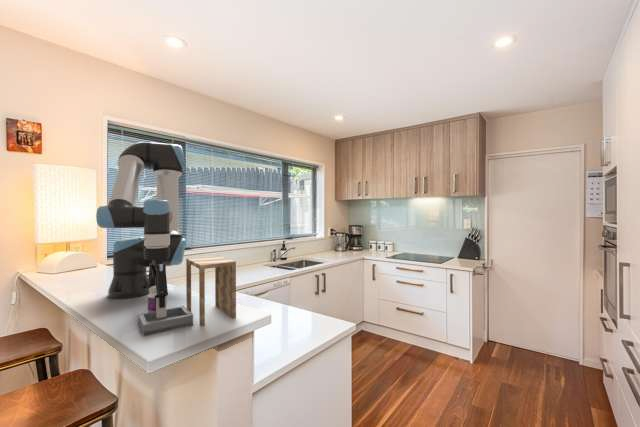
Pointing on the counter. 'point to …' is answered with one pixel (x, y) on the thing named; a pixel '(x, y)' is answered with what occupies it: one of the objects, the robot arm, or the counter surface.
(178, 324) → the tray
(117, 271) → the robot arm
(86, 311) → the counter surface
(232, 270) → the counter shelf
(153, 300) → the pill bottle
